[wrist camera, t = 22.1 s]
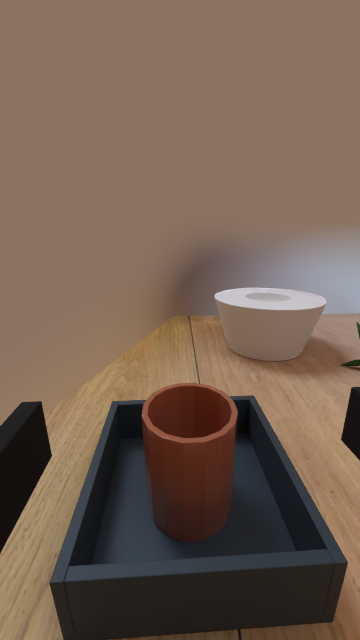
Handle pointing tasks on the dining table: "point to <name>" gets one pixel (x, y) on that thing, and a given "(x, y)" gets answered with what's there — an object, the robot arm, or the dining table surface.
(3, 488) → the robot arm
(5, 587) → the dining table surface
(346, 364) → the decorative plant
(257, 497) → the bin
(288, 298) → the white tapered round pot
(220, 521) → the cup
